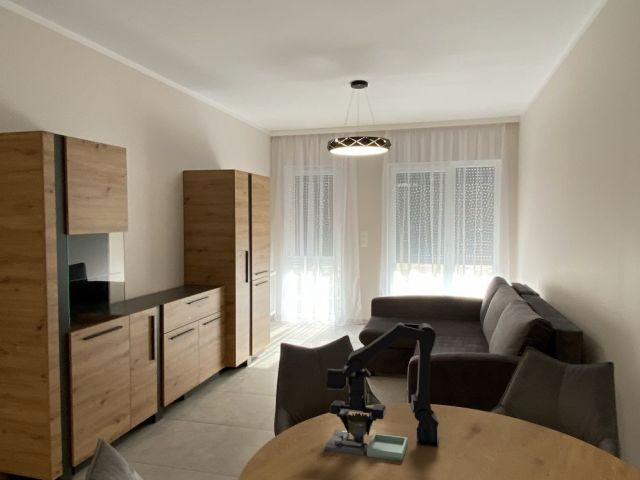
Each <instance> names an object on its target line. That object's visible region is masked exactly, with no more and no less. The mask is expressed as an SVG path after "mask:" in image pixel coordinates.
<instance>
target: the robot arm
mask: <svg viewBox="0 0 640 480" xmlns="http://www.w3.org/2000/svg"><path fill="white" fill-rule="evenodd" d="M436 336H437V335H436V332H435V329H434V328H433V327H432V326H431V325H430V324H429V323H421V324H416V323H404V322H397V323H396V324H395V325H394V326H392V327H391V328H390V329H389V330H387V331H385V332H384V333H383V334H382V335H380V336H379V337H377V338H376V339H375V340H373V341H372V342H371V343H369V344H367V345H365V346H363V347H362V346H361V347H358V348H357V349H355V350H352V351H351V352H350V354H349V355H348V360H347V362H346V364H345V365H344V366H343V368H336V369H335V368H327V379H326V387H327V388H326V389H327V390H344V389H345V388H346V387H347V386H348V395H347V396H348V403H349V404H346V402H345V401H344V400H334V401H333V402H332V403H331V404H330V405H329V414H332V415H336V417H337V418H339V419H340V420H341V423H342V424H343V426H344V428H345V431H347V432H348V433H350V432H349V427H348V420H347V416H349V414H350V412H353V413H360V414H361V413H362V414H368V418H367V433H366V436H368V437H369V435H370V432H371V430H372V426H373V422H376V421H377V420H383V419H384V418H385V416H386V414H387V407H386V405H384V404H374V405H373V407H369V406H368V405H369V404H370V393H367V387H366V386H367V385H366V384H367V383H366V378H371V376H372V375H371V372H370V371H369V370H368V369H367V368H366V367H367V366H368V365H369V364H370V362H371V361H372V359H374V358H375V356H377V355H378V354H379V353H382V351H384V350H386V349H387V348H388V347H389V346H390V345H391V346H392V344H393V343H395V342H396V341H398V340H399V339H401V338H406V339H409V340H410V339H411V340H413V341H414V340H415V341H416V342H417V347H418V361H417V382H416V383H417V385H416V387H417V388H416V392H415V394H411V396H410V397H411V403H410V408H411V412H412V414H413V415H414V419H416V421H418V424H417V426H416V440H417V444H418V445H424V446H429V447H430V446H431V447H438V445H439V440H440V436H439V423H440V422H439V420H438V418H437V414H436V412H435V411H434V410H433V409H432V407H431V406H432V405H431V400H430V377H431V376H430V375H431V360H432V359H431V357H432V352H433V349H434V346H435V342H436Z"/></svg>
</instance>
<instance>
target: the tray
mask: <svg viewBox="0 0 640 480" xmlns="http://www.w3.org/2000/svg"><path fill="white" fill-rule="evenodd" d="M408 444H409V442H408V437H406V436H399V435H398V436H397V435H389V434H381V433H374V434H373V436H372V438H371V440H370V442H369V444H367V448H366V457H369V458H376V459H377V458H378V459H383V460H384V459H385V460H390V461H397V462H399V461H400V462H403V459H404V457H405V453H406V451H407V448H408Z"/></svg>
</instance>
